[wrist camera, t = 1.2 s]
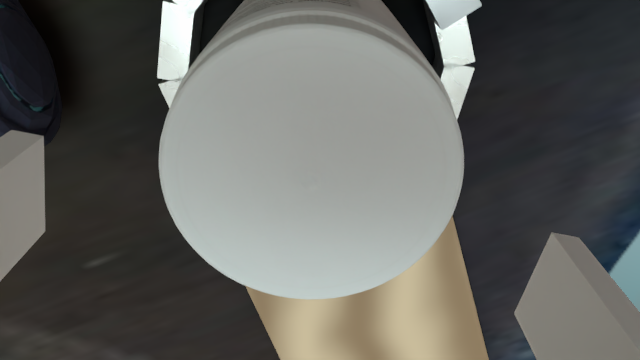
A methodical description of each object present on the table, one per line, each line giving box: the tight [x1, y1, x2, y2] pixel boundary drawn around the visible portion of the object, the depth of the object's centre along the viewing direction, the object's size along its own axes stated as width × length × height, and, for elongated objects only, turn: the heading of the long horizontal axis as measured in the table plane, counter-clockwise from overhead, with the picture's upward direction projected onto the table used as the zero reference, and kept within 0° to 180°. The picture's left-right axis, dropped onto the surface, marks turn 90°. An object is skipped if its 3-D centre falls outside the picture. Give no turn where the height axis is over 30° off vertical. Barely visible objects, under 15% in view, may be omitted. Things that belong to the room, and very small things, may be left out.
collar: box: [157, 0, 482, 120], centre depth 27 cm, size 16×16×4 cm
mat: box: [246, 216, 489, 360], centre depth 36 cm, size 14×14×1 cm
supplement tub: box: [159, 0, 464, 300], centre depth 23 cm, size 10×10×15 cm
